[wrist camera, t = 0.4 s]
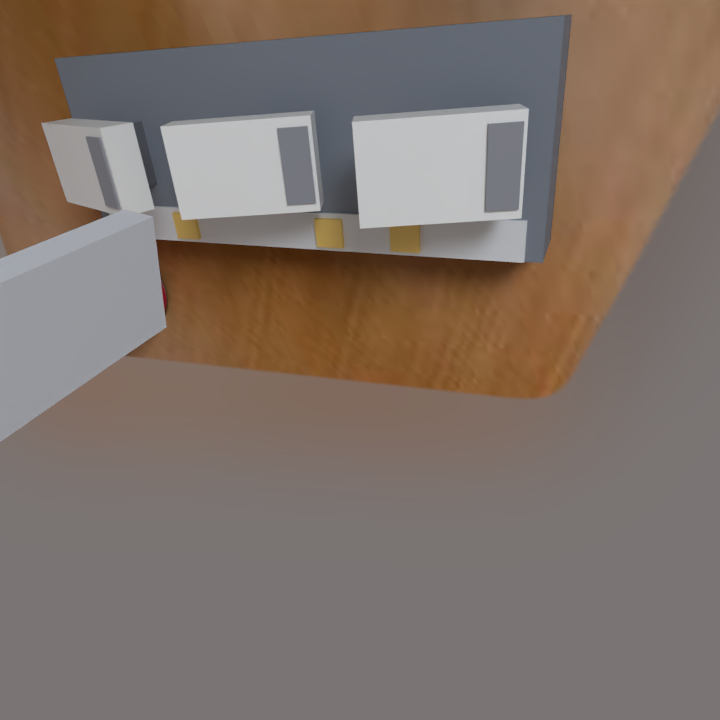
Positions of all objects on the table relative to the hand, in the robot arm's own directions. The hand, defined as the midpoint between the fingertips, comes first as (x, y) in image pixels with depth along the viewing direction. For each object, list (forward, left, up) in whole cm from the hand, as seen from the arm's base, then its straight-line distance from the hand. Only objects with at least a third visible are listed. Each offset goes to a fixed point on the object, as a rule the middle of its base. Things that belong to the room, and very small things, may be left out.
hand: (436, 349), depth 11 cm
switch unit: (+1, -16, -27) cm, 31 cm away
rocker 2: (+1, -16, -19) cm, 25 cm away
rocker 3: (+1, -5, -19) cm, 19 cm away
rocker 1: (+1, -27, -19) cm, 33 cm away
